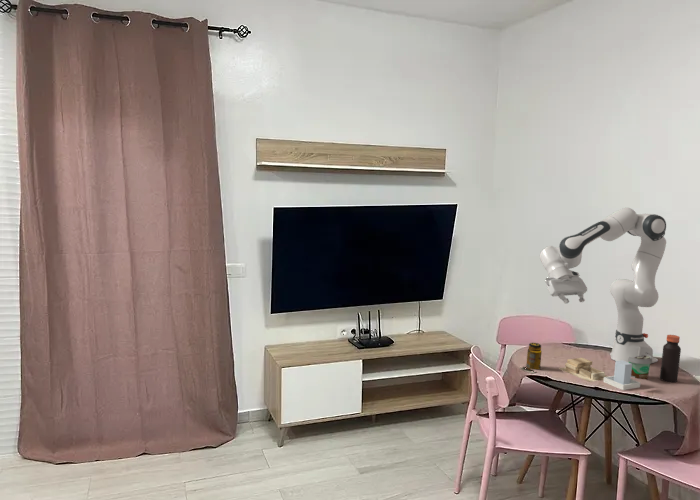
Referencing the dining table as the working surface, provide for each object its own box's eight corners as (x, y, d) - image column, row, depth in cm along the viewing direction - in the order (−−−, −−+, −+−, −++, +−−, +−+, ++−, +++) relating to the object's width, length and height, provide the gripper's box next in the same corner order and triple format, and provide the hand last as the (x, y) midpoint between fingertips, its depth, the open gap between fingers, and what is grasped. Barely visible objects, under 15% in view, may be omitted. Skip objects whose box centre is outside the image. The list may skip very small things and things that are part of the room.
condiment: (544, 370, 262) (546, 345, 261) (531, 373, 257) (533, 347, 256) (531, 366, 268) (533, 340, 267) (518, 368, 263) (520, 343, 262)
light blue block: (619, 382, 248) (622, 360, 247) (629, 386, 243) (632, 363, 242) (613, 383, 246) (615, 361, 245) (623, 387, 242) (625, 364, 240)
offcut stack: (581, 367, 266) (582, 357, 265) (591, 371, 260) (592, 361, 260) (564, 369, 262) (565, 359, 261) (574, 373, 256) (575, 363, 256)
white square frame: (619, 381, 251) (620, 374, 251) (639, 389, 242) (640, 382, 242) (603, 384, 247) (603, 377, 247) (622, 392, 238) (623, 385, 238)
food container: (638, 383, 250) (640, 361, 249) (625, 378, 255) (628, 356, 254) (656, 379, 256) (659, 357, 254) (643, 375, 261) (646, 353, 260)
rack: (580, 367, 269) (581, 360, 268) (612, 380, 252) (613, 372, 252) (558, 370, 263) (558, 363, 262) (589, 384, 247) (589, 376, 246)
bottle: (679, 381, 255) (685, 336, 252) (672, 383, 251) (677, 339, 248) (664, 376, 260) (668, 333, 258) (656, 379, 256) (661, 335, 254)
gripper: (547, 274, 263) (561, 299, 255) (581, 272, 271) (595, 297, 264) (539, 281, 267) (553, 307, 260) (572, 280, 276) (587, 304, 268)
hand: (575, 302), depth 262 cm, fingers open, 8 cm apart
